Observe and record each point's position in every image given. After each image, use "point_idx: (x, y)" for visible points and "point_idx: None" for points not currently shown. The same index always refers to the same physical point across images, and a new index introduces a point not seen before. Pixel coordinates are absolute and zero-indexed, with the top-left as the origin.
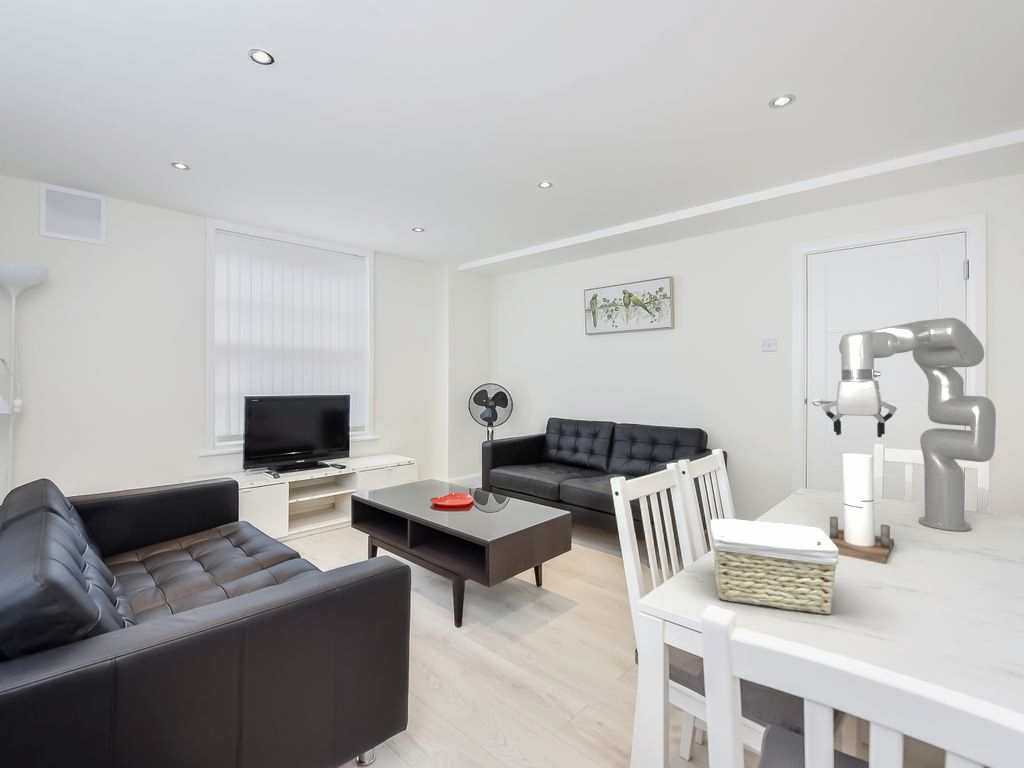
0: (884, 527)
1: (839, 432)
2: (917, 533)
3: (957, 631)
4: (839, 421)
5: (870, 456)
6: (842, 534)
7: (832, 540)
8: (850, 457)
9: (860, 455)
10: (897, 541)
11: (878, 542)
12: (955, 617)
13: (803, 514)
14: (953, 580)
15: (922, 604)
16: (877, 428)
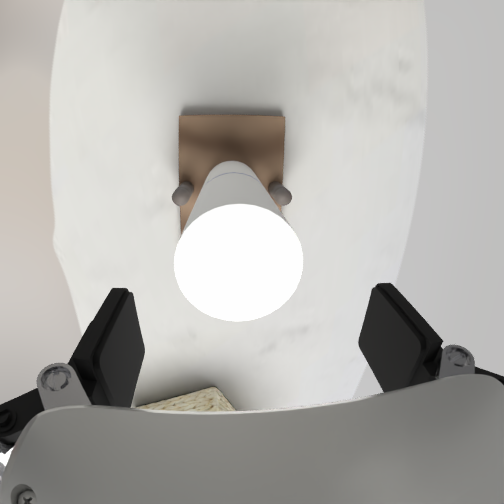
0: (282, 204)
1: (139, 351)
2: (313, 18)
3: (328, 387)
4: (105, 390)
5: (294, 279)
6: (195, 151)
7: (188, 211)
8: (219, 315)
9: (252, 270)
10: (287, 93)
11: (262, 163)
12: (333, 365)
13: (103, 20)
14: (352, 262)
15: (311, 358)
16: (378, 380)
